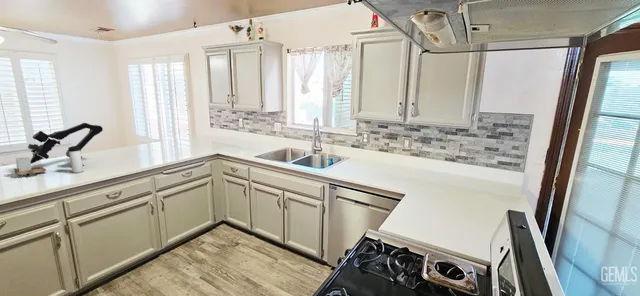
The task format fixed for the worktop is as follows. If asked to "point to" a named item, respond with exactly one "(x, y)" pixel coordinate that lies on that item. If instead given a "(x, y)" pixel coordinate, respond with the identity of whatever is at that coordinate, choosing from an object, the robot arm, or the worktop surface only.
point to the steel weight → (23, 164)
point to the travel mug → (75, 159)
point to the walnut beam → (33, 170)
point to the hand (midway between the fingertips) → (30, 163)
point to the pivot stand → (29, 174)
